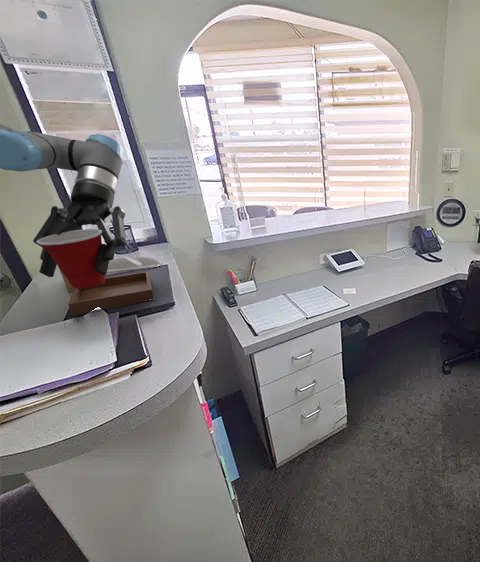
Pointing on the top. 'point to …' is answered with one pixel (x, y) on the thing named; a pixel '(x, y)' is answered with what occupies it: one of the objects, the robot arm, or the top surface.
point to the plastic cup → (76, 255)
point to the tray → (112, 293)
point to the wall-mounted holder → (131, 264)
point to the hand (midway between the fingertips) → (73, 273)
